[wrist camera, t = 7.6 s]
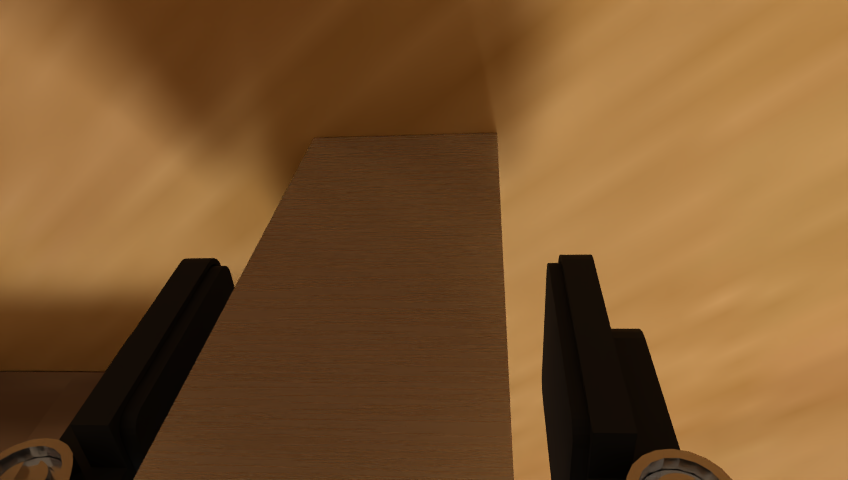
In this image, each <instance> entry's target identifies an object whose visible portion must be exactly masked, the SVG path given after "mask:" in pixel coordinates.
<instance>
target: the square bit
mask: <svg viewBox="0 0 848 480" xmlns="http://www.w3.org/2000/svg"><path fill="white" fill-rule="evenodd" d="M133 480H514V475H513V454H512V433H511V412H510V392H509V371H508V350H507V330H506V309H505V288H504V267H503V247H502V226H501V205H500V185H499V164H498V143H497V133H483V134H446V135H409V136H372V137H335V138H313V140H312V142H311V144H310V146H309V148H308V150H307V152H306V154H305V155H304V157H303V159H302V161H301V163H300V165H299V167H298V169H297V171H296V172H295V174H294V176H293V178H292V180H291V182H290V184H289V186H288V188H287V189H286V191H285V193H284V195H283V197H282V199H281V201H280V203H279V205H278V207H277V208H276V210H275V212H274V214H273V216H272V218H271V220H270V222H269V224H268V225H267V227H266V229H265V231H264V233H263V235H262V237H261V239H260V241H259V243H258V244H257V246H256V248H255V250H254V252H253V254H252V256H251V258H250V260H249V261H248V263H247V265H246V267H245V269H244V271H243V273H242V275H241V277H240V278H239V280H238V282H237V284H236V286H235V288H234V290H233V292H232V294H231V296H230V297H229V299H228V301H227V303H226V305H225V307H224V309H223V311H222V313H221V314H220V316H219V318H218V320H217V322H216V324H215V326H214V328H213V330H212V332H211V333H210V335H209V337H208V339H207V341H206V343H205V345H204V347H203V349H202V350H201V352H200V354H199V356H198V358H197V360H196V362H195V364H194V366H193V367H192V369H191V371H190V373H189V375H188V377H187V379H186V381H185V383H184V385H183V386H182V388H181V390H180V392H179V394H178V396H177V398H176V400H175V402H174V403H173V405H172V407H171V409H170V411H169V413H168V415H167V417H166V419H165V420H164V422H163V424H162V426H161V428H160V430H159V432H158V434H157V436H156V438H155V439H154V441H153V443H152V445H151V447H150V449H149V451H148V453H147V455H146V456H145V458H144V460H143V462H142V464H141V466H140V468H139V470H138V472H137V474H136V475H135V477H134V479H133Z"/></svg>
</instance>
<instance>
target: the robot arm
mask: <svg viewBox="0 0 848 480" xmlns="http://www.w3.org/2000/svg"><path fill="white" fill-rule="evenodd" d="M233 290H234V284H233V280H232V277H231V273H230V270H229V268H228V267H226V266H221V265H220V263H219V261H218V260H217V259H215V258H193V259H183V260H182V261H181V263H180V264H179V265H178V267H177V268H176V270H175V271H174V273H173V274H172V276H171V277H170V279H169V280H168V282H167V283H166V285H165V286H164V287H163V289H162V290H161V292H160V293H159V295H158V296H157V298H156V299H155V301H154V302H153V304H152V305H151V307H150V308H149V309H148V311H147V312H146V314H145V315H144V317H143V318H142V320H141V321H140V323H139V324H138V326H137V327H136V329H135V330H134V332H133V333H132V334H131V335H130V336H129V338H128V339H127V341H126V342H125V344H124V345H123V347H122V348H121V349H120V351H119V352H118V354H117V355H116V357H115V358H114V360H113V361H112V363H111V364H110V366H109V367H108V369H107V370H106V371H105V373H104V374H103V376H102V377H101V379H100V380H99V382H98V383H97V385H96V386H95V388H94V389H93V390H92V392H91V393H90V395H89V396H88V398H87V399H86V401H85V402H84V404H83V405H82V407H81V408H80V410H79V411H78V412H77V414H76V415H75V417H74V418H73V420H72V421H71V423H70V424H69V426H68V427H67V429H66V430H65V432H64V433H63V434H62V436H61V437H60V439H59V440H58V439H50V438H41V439H33V440H29V441H26V442H23V443H20V444H17V445H14V446H12V447H10V448H8V449H6V450H4V451H3V452H1V453H0V480H133V479H134V477H135V475H136V474H137V472H138V470H139V468H140V466H141V464H142V462H143V460H144V458H145V456H146V455H147V453H148V451H149V449H150V447H151V445H152V443H153V441H154V439H155V438H156V436H157V434H158V432H159V430H160V428H161V426H162V424H163V422H164V420H165V419H166V417H167V415H168V413H169V411H170V409H171V407H172V405H173V403H174V402H175V400H176V398H177V396H178V394H179V392H180V390H181V388H182V386H183V385H184V383H185V381H186V379H187V377H188V375H189V373H190V371H191V369H192V367H193V366H194V364H195V362H196V360H197V358H198V356H199V354H200V352H201V350H202V349H203V347H204V345H205V343H206V341H207V339H208V337H209V335H210V333H211V332H212V330H213V328H214V326H215V324H216V322H217V320H218V318H219V316H220V314H221V313H222V311H223V309H224V307H225V305H226V303H227V301H228V299H229V297H230V296H231V294H232V292H233ZM542 395H543V405H544V414H545V424H546V433H547V443H548V452H549V462H550V471H551V480H732V479H731V478H730V477H729V476H728V475H727V474H726V473H725V472H724V471H723V469H722V468H720V467H719V466H717V465H716V464H714V463H713V462H711V461H710V460H708V459H707V458H704V457H702V456H699V455H697V454H694V453H692V452H689V451H683V450H680V448H679V445H678V441H677V438H676V435H675V432H674V429H673V426H672V422H671V419H670V416H669V413H668V410H667V406H666V403H665V400H664V397H663V394H662V391H661V387H660V384H659V381H658V378H657V375H656V371H655V368H654V365H653V362H652V359H651V356H650V352H649V349H648V346H647V343H646V340H645V337H644V334H643V332H642V331H641V330H640V329H611V327H610V323H609V319H608V315H607V311H606V307H605V303H604V299H603V295H602V292H601V288H600V284H599V280H598V276H597V272H596V268H595V264H594V260H593V257H592V255H560V256H559V261H558V263H548V264H547V276H546V298H545V319H544V341H543V363H542Z"/></svg>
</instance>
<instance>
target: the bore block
mask: <svg viewBox="0 0 848 480" xmlns="http://www.w3.org/2000/svg"><path fill="white" fill-rule="evenodd" d="M104 373H105V372H0V453H1V452H3V451H4V450H6V449H8V448H10V447H12V446H14V445H17V444H20V443H23V442H26V441H29V440H33V439H41V438H50V439H58V440H59V439H60V437H61V436H62V434H63V433H64V432H65V430H66V429H67V427H68V426H69V424H70V423H71V421H72V420H73V418H74V417H75V415H76V414H77V412H78V411H79V410H80V408H81V407H82V405H83V404H84V402H85V401H86V399H87V398H88V396H89V395H90V393H91V392H92V390H93V389H94V388H95V386H96V385H97V383H98V382H99V380H100V379H101V377H102V376H103V374H104Z"/></svg>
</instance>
